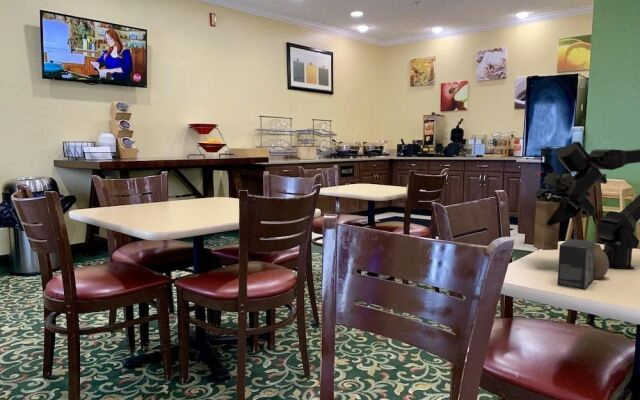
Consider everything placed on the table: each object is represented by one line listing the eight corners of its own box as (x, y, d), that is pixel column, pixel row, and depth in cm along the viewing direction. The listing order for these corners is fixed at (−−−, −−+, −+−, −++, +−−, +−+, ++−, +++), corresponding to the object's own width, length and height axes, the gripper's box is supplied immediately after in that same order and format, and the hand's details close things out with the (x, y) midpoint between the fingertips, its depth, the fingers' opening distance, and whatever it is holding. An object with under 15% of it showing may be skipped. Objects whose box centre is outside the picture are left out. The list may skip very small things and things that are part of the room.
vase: (573, 273, 127) (575, 241, 126) (600, 274, 126) (603, 242, 125) (584, 279, 120) (586, 246, 119) (612, 281, 119) (615, 247, 119)
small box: (565, 276, 123) (568, 237, 122) (593, 281, 119) (596, 241, 118) (555, 285, 115) (558, 243, 114) (585, 290, 111) (588, 247, 110)
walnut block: (547, 246, 133) (550, 201, 132) (557, 249, 129) (560, 203, 127) (533, 246, 132) (536, 201, 131) (543, 250, 128) (546, 203, 127)
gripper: (542, 162, 138) (506, 199, 137) (588, 164, 120) (547, 207, 119) (564, 188, 140) (528, 225, 139) (613, 194, 122) (572, 237, 121)
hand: (542, 223), depth 130 cm, fingers closed on walnut block, 4 cm apart
